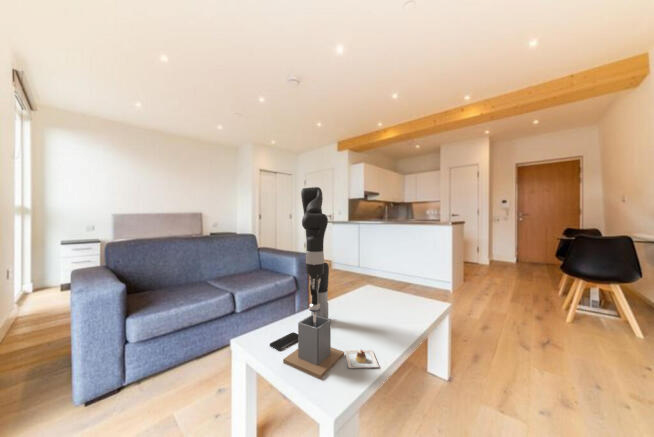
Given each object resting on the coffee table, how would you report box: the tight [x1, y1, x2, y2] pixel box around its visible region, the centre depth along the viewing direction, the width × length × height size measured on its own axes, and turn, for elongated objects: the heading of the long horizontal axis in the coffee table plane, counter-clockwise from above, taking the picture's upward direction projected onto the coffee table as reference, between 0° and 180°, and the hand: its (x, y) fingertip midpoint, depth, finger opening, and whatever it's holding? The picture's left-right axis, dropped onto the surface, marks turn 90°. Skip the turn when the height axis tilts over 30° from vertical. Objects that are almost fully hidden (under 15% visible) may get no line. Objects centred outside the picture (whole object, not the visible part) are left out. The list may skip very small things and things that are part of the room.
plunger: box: [308, 302, 320, 327], centre depth 98 cm, size 8×8×17 cm
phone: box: [269, 332, 298, 352], centre depth 111 cm, size 8×1×15 cm
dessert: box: [344, 349, 380, 369], centre depth 97 cm, size 12×12×5 cm
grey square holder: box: [282, 315, 345, 380], centre depth 98 cm, size 18×18×16 cm
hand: (314, 303), depth 98 cm, fingers closed
